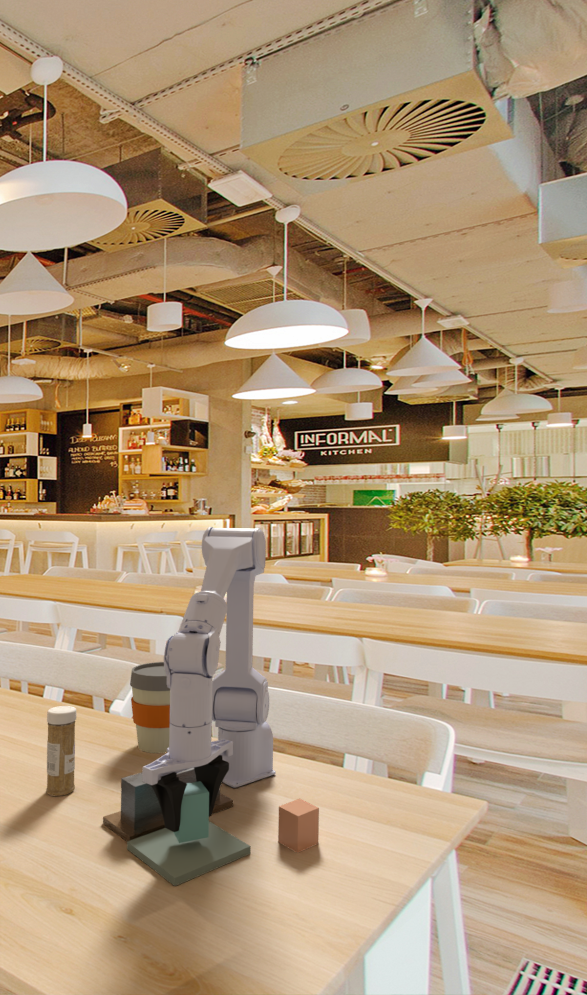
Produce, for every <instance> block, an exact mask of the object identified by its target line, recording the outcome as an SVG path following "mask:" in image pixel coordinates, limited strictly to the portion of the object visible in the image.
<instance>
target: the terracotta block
mask: <svg viewBox="0 0 587 995" xmlns="http://www.w3.org/2000/svg"><path fill="white" fill-rule="evenodd" d="M319 819H320V808H319V807H318V806H316V805H314V804H312V803H310V802H308V801H305V800H304V799H301V798H297V799H295V800H292V801H289V802H287V803H284V804H281V805H279V806H278V831H277V832H278V836H277V838H278V839H277V840H278V841H277V842H278V843H280V844H281V845H283V846H284V847H286V848H288V849H290V850H291V851H294V852H295V853H297V854H298V853H300V852H302V851H304V850H307V849H309V848H311V847H314V846H315V845H316V846H317V845H319V837H320V836H319V833H320V832H319V829H320V828H319V826H320V823H319V822H320V820H319Z"/></svg>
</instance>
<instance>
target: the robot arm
mask: <svg viewBox="0 0 587 995" xmlns="http://www.w3.org/2000/svg"><path fill="white" fill-rule="evenodd" d="M201 539H202V540H201V555H202V558H203V560H204V565H205V567H206V568H205V572H204V577H203V580H202V584H201V588H200V591H198V592H195V593H194V594H192V596H191V597H190V599H189V601H188V605H187V607H186V609H185V612H184V615H183V618H182V619H181V623H180V626H179V629H178V631H177V632H176V633H174V635H170V636H169V637H168V638H167V640H166V643H165V646H164V655H163V662H164V668H165V671H166V675H167V687H168V688H170V732H169V748H167V753H164V754H163V755H161V757H159V758H156V760H154V761H152V762H150V763H148V764H146V765H143V766H142V772H143V778H142V781H143V782H145V783H147V784H150V785H151V786H152V788H153V790H154V792H155V794H156V796H157V799H158V801H159V804H160V807H161V811H162V814H163V819H164V824H165V828H167V829H169V830H171V831H173V832H177V831H179V827H180V819H181V805H182V799H183V795H184V791H185V789H186V786H187V784H186V783H185V782H182V781H180V780H179V777H177V773H179V772H182V771H185V770H188V769H190V768H194V770H195V775H196V781H197V782H199V781H201V782H202V784H203V785H204V786H205V788H206V789H207V790H208V792H209V817H212V815H213V814H212V812H213V808H214V804H215V801H216V797H217V794H218V791H219V788H220V789H221V786H222V784H225V785H227V786H229V787H230V788H234V789H235V788H238V787H242V786H244V785H248V784H251V783H253V782H256V781H259V780H262V779H266V778H268V777H271V776H273V775H276V770H274V769H273V768H274V734H273V731H272V728H271V726H270V724H269V723H268V722H267V720H268V716H269V711H270V695H269V694H270V693H269V685H268V684H269V682H268V679H267V677H266V676H265V675H263V674H261V673H260V672H259V671H258V670H256V669H255V668H254V667H253V650H254V648H253V647H254V646H253V645H254V642H253V641H254V639H253V638H254V586H255V581H256V577H257V576H259V575H262V574H264V573H265V568H266V549H267V548H266V547H267V546H266V537H265V532H264V531H263V530H262V528H260V527H256V528H240V527H239V528H238V527H237V528H236V527H232V528H231V527H230V528H229V527H213V526H208V527H207V528H206V530H205V531H204V532H203V535H202V538H201ZM225 596H226V600H225ZM225 618H226V620H225ZM224 622H226V624H225V625H226V626H225V669H223V670H222V671H221V672H219V673H217V674H216V672H217V669H218V665H219V658H220V648H221V637H220V635H221V632H222V629H223V627H224ZM215 674H216V675H215ZM214 675H215V676H214ZM213 722H215V723H214V724H215V728H218V729H217V731H218V732H217V740H214V741H212V733H213V732H212V731H213V730H212V728H213V726H212V724H213Z"/></svg>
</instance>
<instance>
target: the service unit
mask: <svg viewBox="0 0 587 995" xmlns="http://www.w3.org/2000/svg"><path fill="white" fill-rule="evenodd" d="M177 777H179V780H180V781H182V782H185V783H186V784H187V783H193V782H197V781H196V775H195V770H194V768H190V769H188V770H185V771H182V772H179V773H177ZM142 778H143V771H142V772H138V773H134V774H130V775H128V776H124V777H121V778H120V779H121V782H120V783H121V784H120V789H121V790H120V810H119V811H116V812H114V813H110V814H107V815H104V816H102V824H103V825H104V826H106V828H109V829H110V830H111V831H112V832H114V833H115V834H116V835H117V836H119V837H120V838H121V839H123V840H124V841H126V843H127V842H128V841H130V840H133V839H136V838H139V837H141V836H144V835H147V834H150V833H153V832H155V831H158V830H161V829H164V828H165V824H164V819H163V814H162V811H161V807H160V804H159V801H158V799H157V796H156V794H155V792H154V790H153V788H152V786H151V785H150V784H147V783H145V782H143V781H142ZM233 807H234V799H232V798H230V797H228V796H227V795H225V794H223V793H221V787H220V788H219V791H218V794H217V797H216V801H215V804H214V808H213V812H212V815H213V814H216V813H219V812H221V811H224V810H227V809H230V808H233Z"/></svg>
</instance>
